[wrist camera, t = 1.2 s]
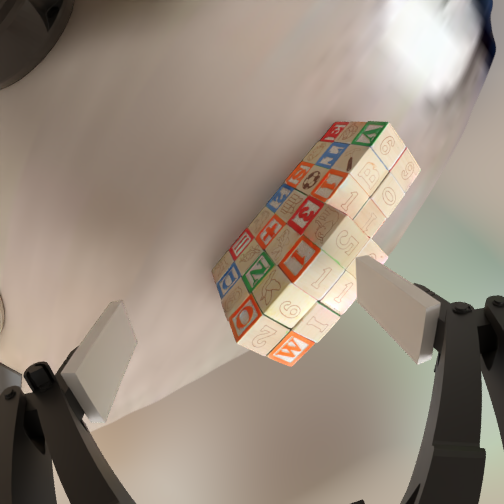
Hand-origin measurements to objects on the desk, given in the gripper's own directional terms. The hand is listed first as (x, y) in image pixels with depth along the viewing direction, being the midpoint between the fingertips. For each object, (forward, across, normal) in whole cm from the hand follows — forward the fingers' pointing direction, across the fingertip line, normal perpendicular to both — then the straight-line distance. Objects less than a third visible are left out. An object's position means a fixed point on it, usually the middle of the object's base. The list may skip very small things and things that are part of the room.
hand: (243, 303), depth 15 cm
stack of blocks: (+17, +7, +2) cm, 18 cm away
